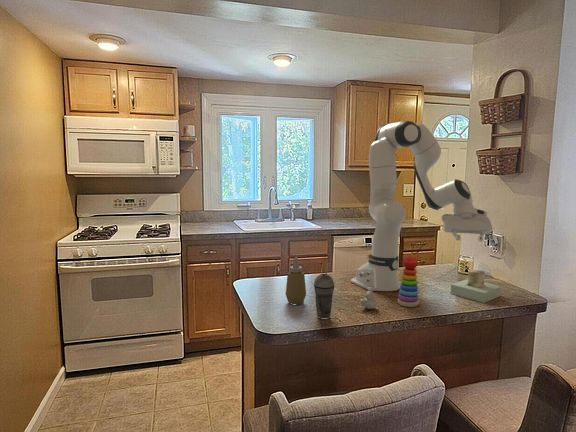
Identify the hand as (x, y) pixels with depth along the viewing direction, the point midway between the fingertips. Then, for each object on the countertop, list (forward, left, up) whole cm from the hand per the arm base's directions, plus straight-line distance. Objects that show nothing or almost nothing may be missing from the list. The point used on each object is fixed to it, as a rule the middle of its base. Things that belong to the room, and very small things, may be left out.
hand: (469, 240), depth 171 cm
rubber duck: (-8, -56, -21) cm, 60 cm away
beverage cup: (-12, -75, -21) cm, 79 cm away
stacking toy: (-2, -40, -21) cm, 45 cm away
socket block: (+8, -8, -21) cm, 24 cm away
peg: (+8, -8, -21) cm, 24 cm away
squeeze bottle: (-29, -74, -21) cm, 82 cm away
